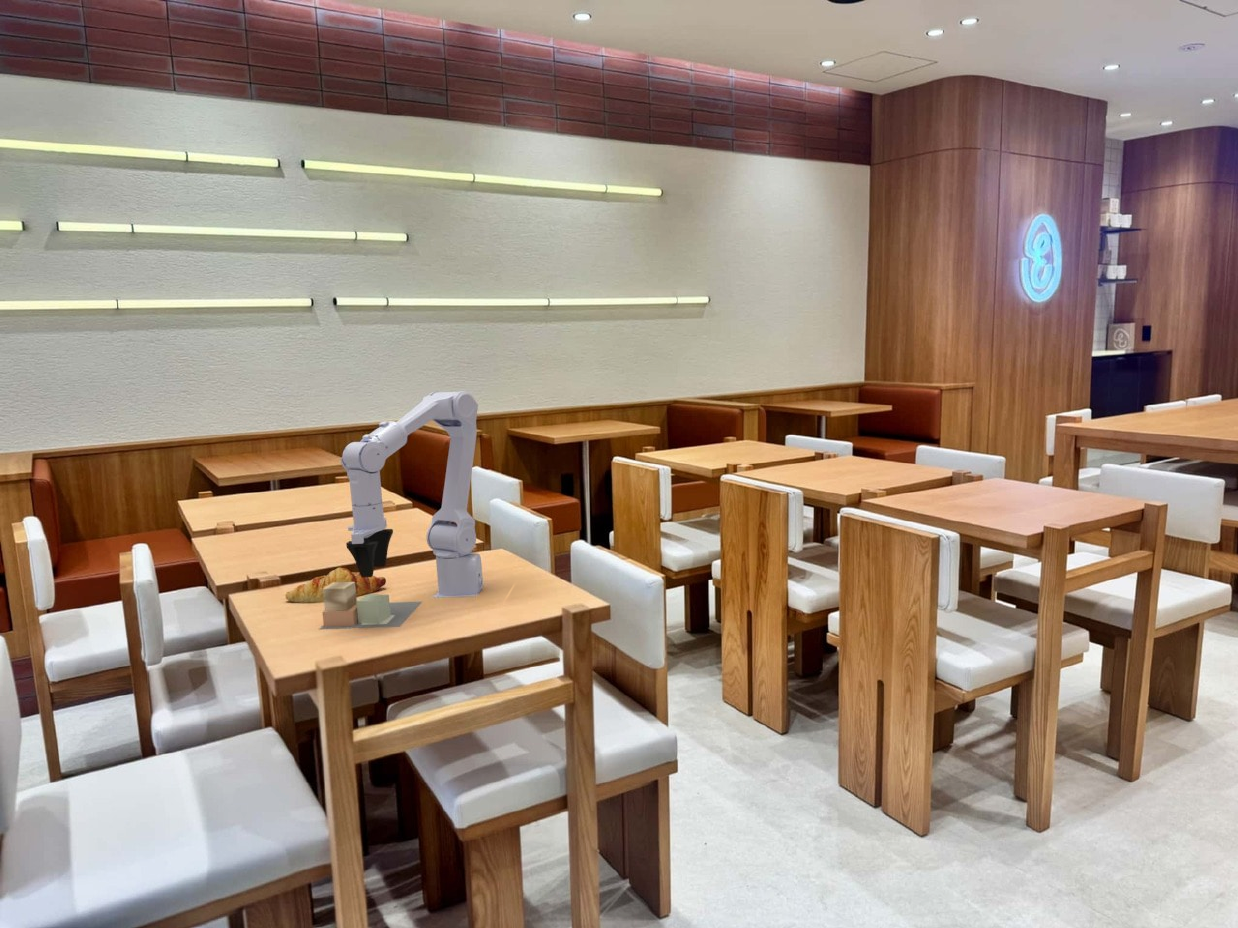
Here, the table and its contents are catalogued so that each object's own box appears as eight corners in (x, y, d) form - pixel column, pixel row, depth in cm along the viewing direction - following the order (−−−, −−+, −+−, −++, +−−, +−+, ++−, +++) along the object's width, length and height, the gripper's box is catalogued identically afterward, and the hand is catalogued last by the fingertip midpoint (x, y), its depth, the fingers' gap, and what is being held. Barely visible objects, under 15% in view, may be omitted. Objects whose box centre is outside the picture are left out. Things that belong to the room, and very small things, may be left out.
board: (422, 603, 177) (422, 601, 177) (400, 629, 161) (399, 626, 161) (348, 606, 178) (348, 603, 178) (318, 631, 162) (318, 629, 162)
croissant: (287, 623, 179) (283, 596, 175) (286, 591, 187) (281, 565, 183) (389, 606, 186) (387, 580, 182) (383, 576, 194) (381, 550, 190)
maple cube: (356, 603, 167) (354, 581, 167) (346, 610, 163) (344, 588, 162) (335, 603, 168) (333, 582, 167) (325, 611, 163) (322, 588, 163)
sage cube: (370, 615, 169) (368, 594, 168) (390, 616, 168) (388, 594, 167) (358, 623, 164) (356, 600, 164) (379, 623, 163) (377, 601, 163)
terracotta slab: (364, 615, 169) (363, 601, 168) (354, 625, 163) (352, 610, 163) (335, 616, 169) (334, 602, 169) (323, 626, 163) (322, 611, 163)
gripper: (359, 497, 170) (366, 562, 172) (332, 511, 156) (339, 582, 157) (394, 496, 170) (400, 561, 171) (370, 510, 155) (376, 581, 157)
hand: (373, 571), depth 164 cm, fingers open, 7 cm apart
